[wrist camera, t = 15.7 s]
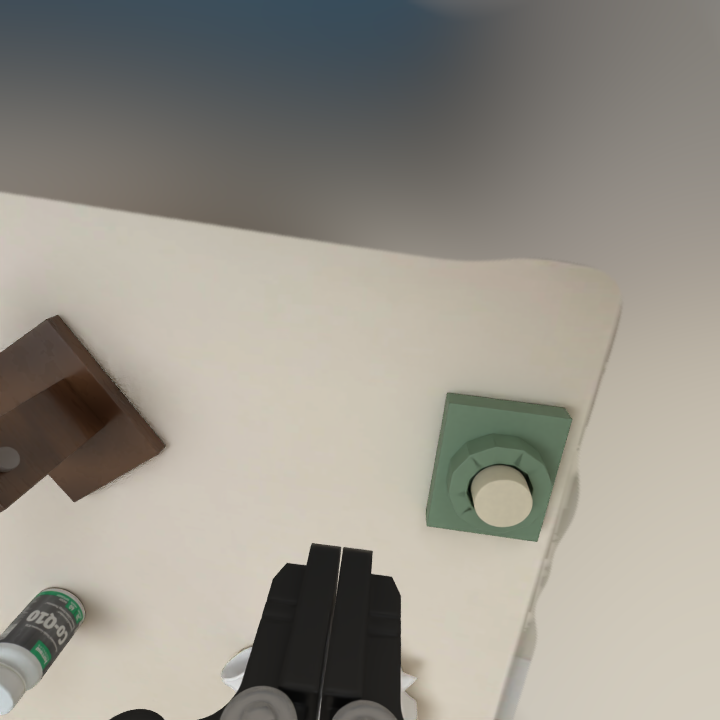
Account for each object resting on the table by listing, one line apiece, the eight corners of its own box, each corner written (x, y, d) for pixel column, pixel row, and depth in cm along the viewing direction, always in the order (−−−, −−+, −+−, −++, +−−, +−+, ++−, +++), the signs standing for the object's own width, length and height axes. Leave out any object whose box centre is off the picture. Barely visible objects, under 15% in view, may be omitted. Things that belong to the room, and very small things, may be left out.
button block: (447, 392, 34) (451, 415, 31) (565, 407, 34) (581, 432, 31) (425, 511, 38) (427, 543, 35) (532, 526, 37) (543, 560, 34)
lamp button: (476, 460, 32) (480, 476, 31) (532, 468, 32) (538, 484, 31) (466, 506, 34) (469, 523, 32) (520, 513, 34) (526, 531, 32)
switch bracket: (-25, 374, 37) (-186, 449, 27) (57, 314, 35) (-85, 372, 25) (83, 493, 40) (-26, 600, 30) (165, 445, 38) (78, 545, 28)
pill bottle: (97, 612, 45) (31, 706, 37) (64, 633, 46) (-7, 727, 38) (58, 577, 44) (-19, 666, 36) (25, 599, 45) (-56, 690, 37)
